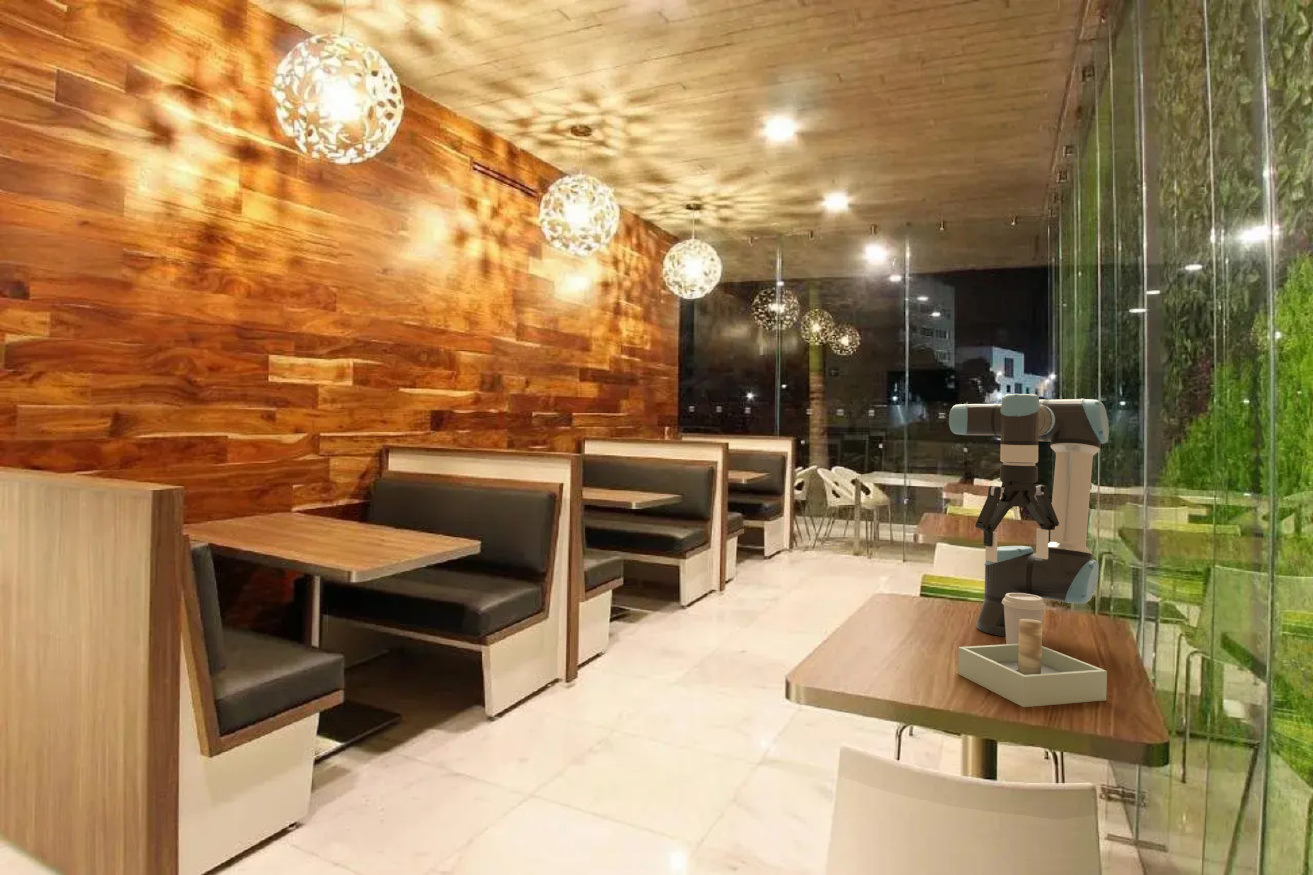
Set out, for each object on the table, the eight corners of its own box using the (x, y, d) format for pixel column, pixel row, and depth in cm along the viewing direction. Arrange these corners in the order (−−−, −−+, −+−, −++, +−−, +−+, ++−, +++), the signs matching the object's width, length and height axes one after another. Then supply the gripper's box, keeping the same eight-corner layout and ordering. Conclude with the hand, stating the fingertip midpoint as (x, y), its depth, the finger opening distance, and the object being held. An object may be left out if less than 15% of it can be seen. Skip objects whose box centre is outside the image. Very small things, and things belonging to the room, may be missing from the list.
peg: (1029, 682, 159) (1031, 618, 159) (1045, 689, 155) (1047, 623, 155) (1012, 683, 158) (1014, 619, 158) (1027, 691, 154) (1029, 624, 154)
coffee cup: (1040, 655, 179) (1042, 594, 179) (1047, 667, 170) (1049, 602, 170) (997, 650, 182) (999, 590, 182) (1002, 661, 173) (1004, 598, 173)
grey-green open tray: (1033, 668, 169) (1033, 642, 169) (1106, 700, 149) (1107, 670, 149) (957, 673, 164) (958, 647, 164) (1023, 707, 144) (1024, 676, 144)
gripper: (1051, 462, 169) (1049, 553, 169) (959, 463, 162) (957, 559, 162) (1078, 464, 161) (1076, 560, 162) (983, 465, 155) (981, 565, 155)
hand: (1016, 559), depth 162 cm, fingers open, 13 cm apart
